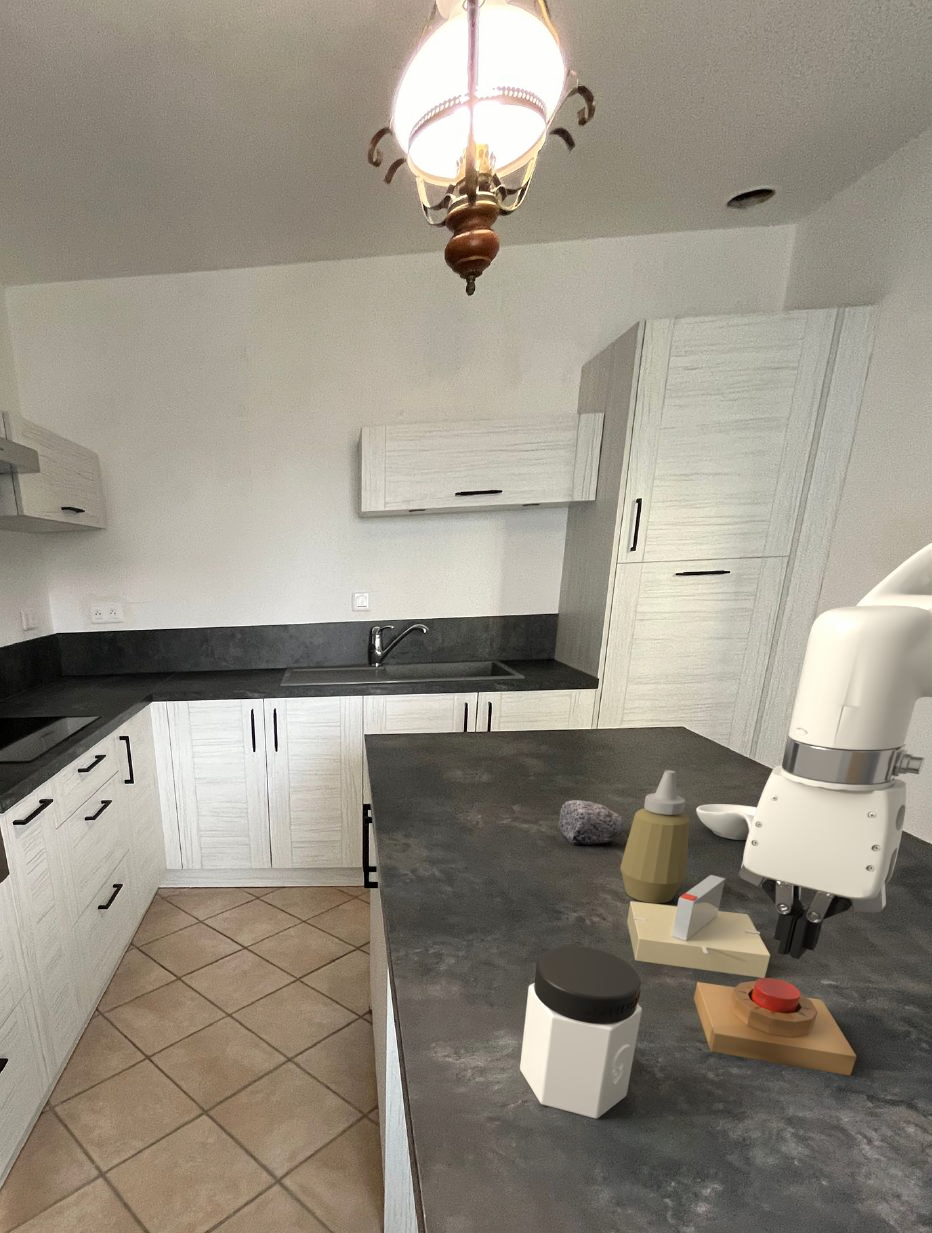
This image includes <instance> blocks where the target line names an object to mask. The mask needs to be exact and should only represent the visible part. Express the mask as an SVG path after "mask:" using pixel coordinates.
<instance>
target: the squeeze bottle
mask: <svg viewBox="0 0 932 1233" xmlns="http://www.w3.org/2000/svg"><path fill="white" fill-rule="evenodd" d="M676 779H677V778H676V771H675V770H670V769H669V770H668V769H666V770H664V772H663V775H662V777H661V779H660V782H659V784H658V787H657V788H656V790H655V792H653V793H649V794H646V796H645V799H644V803H643V807H644V808H641V809H639V810H637V811H636V812H635V814H634V817H633V820H632V824H631V826H630V827H631V828H630V830H629V834H628V838H627V842H626V844H625V849H624V852H623V856H622V859H621V864H620V868H619V869H620V872H621V877H622V880H623V885H624V886H623V887H624V890H625V891H624V892H626V894H627V895H628V896H629V897H630V898H632V899H635V900H638V901H639V902H643V903H651V904H666V903H668V902H671V901H672V900H673V898H674V897H675V895H676V893H677V892H678V890H679V889H680V887H681V886H682V884H683V883H684V881H685V879H686V878H687V872H688V870H687V869H688V868H687V867H688V856H689V855H688V853H689V840H690V824H691V819H690V817H688V815H687V814H685V813H684V810H685V806H686V799H685V798H684V797H682V796H680V795H678V790H677V780H676Z"/></svg>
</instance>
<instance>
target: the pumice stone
mask: <svg viewBox="0 0 932 1233" xmlns="http://www.w3.org/2000/svg"><path fill="white" fill-rule="evenodd" d="M624 824H625V822H624V820H623V818H622V816H621V815H620V814H618V813H617V812H614V811H613V810H611V809H610V808H608V807H607V806H605V805H603V804H599V803H595V802H593V801H591V800H590V801H589V800H588V801H585V800H577V799H576V800H574V799H573V800H568V801H565V803H564V804H563V805H561V809H560V815H559V820H558V826H557V829H558V830H559V832H560V833H561V835H562V837H563V838H564V839H565V840H567V841H568V843H569V844H570V845H574V846H591V845H600V844H606V843H608V844H609V843H611V842H614V841H615V840H616V839H617V838H618V837H620V836H621V834H622V832H623V829H624Z"/></svg>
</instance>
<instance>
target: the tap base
mask: <svg viewBox="0 0 932 1233" xmlns="http://www.w3.org/2000/svg"><path fill="white" fill-rule="evenodd" d="M677 906H678V905H668V904H661V903H648V902H643V901H632V900H631V901H629V908H628V912H627V918H626V923H627V928H628V932H629V937H630V942H631V947H632V951H633V956H634V960H635V961H637V962H644V963H651V964H652V963H653V964H659V965H666V966H673V967H679V968H680V967H681V968H688V969H693V970H694V969H695V970H702V971H710V972H715V973H724V974H731V975H738V976H746V977H754V978H758V979H761V978H766V974H767V970H768V968H769V963H770V958H771V953H770V952H769V950H768V949H767V947H766V944H765V943H764V941H763V940H762V937H761V936H760V935H761V932H760V931H758V930H757V929H756V927H755V925H754V923H753V921H752V919H751V917H750V916H749V914H747V913H741V912H740V913H739V912H730V911H722V910H718V914H717V916H716V917H715V918H713V919H712V920H711V921H710V922H709V923H707V924H706V925H705V926H704V927H702V928H701V929H700V930H699V931H698V932H696V933H695V934H694V935H693V936H691V937H690V938H689V939H688V940H687V941H685V940H682V939H679V938H676V937H673V936H672V932H673V927H674V921H675V916H676V911H677Z"/></svg>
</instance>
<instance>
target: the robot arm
mask: <svg viewBox="0 0 932 1233" xmlns="http://www.w3.org/2000/svg"><path fill="white" fill-rule="evenodd" d="M921 698H932V542H931V543H929V544H927V545H925V546H924V547H922V548H921V549H919V551H917V552H915V553H914V554H913V555H911V556H910V557H909V558H907V559H906V560H905V561H903V562H902V563H901V564H900V565H899V566H898V567H896V568H895V569H894V570H893V571H892V572H891V573H889V574H888V575H887V576H885V578H883V579H882V580H881V581H880V582H879V583H878V584H877V585H875V586H874V587H873V588H872V589H871V590H870V591H869V592H868V593H866V594H865V596H864V597H862V598H861V599H860V600H859V602H857V604H856V605H852V606H841V607H835V608H832V609H828V610H826V611H823V612H822V613H821V614H820V615H819V616H817V618H815V620H814V622H813V623H812V625H811V628H810V632H809V636H808V639H807V643H806V649H805V654H804V658H803V663H802V669H801V673H800V678H799V683H798V687H797V692H796V697H795V701H794V706H793V710H792V716H791V720H790V725H789V730H788V733H787V734H788V736H787V740H786V745H785V749H784V754H783V758H782V763H781V764H780V765H777V766H775V767H774V768H773V769H772V771H771V772H770V774H769V777H768V778H767V780H766V783H765V785H764V787H763V790H762V792H761V795H760V798H759V801H758V803H757V806H756V807H757V809H756V812H755V815H754V818H753V821H752V824H751V827H750V830H749V834H748V837H747V840H745V846H744V850H743V855H742V856H743V857H742V858H743V859H742V862H743V866H742V865H741V866H742V868H741V867H740V869H739V872H738V877H739V878H740V879H741V880H743V881H745V882H747V883H749V884H751V885H753V886H755V887H757V888H762V890H763V891H764V893H766V895H767V896H768V897H769V899H770V901H772V902H773V903H774V905H775V906H774V908H775V911H776V912H777V913H778V918H777V922H776V926H775V930H774V935H773V939H774V940H776V941H779V945H778V949H777V953H778V954H779V955H783V956H785V955H789V956H790V957H791V958H793V959H795V960H799V959H800V958H801V957H802V956H803V955H804V953H805V952H806V951H807V950H808V951H814V950H815V949H816V947H817V945H818V942H819V939H820V935H821V931H822V928H823V927H822V926H823V922H824V920H826V919H829V918H832V917H833V916H834V917H835V916H836V915H839V914H842V913H844V912H846V911H850V912H857V913H867V914H879V913H881V912H882V911H883V910H884V909H885V907H886V906H887V898H886V896H887V894H886V886H887V885H888V884H889V883H890V881H891V878H892V876H893V873H894V870H895V867H896V862H897V858H898V853H899V850H900V844H901V839H902V834H903V828H904V823H905V815H906V807H907V783H906V782H905V781H904V780H902V779H900V778H897V777H899V776H900V775H901V774H902V775H907V774H913V775H914V774H915V775H920V774H921V772H922V770H923V767H924V764H925V757H923V756H915V755H914V754H913V753H908V752H909V751H908V750H906V743H905V742H906V738H907V734H908V730H909V727H910V724H911V719H912V716H913V712H914V710H915V709H914V708H915V705H916V702H917V701H918V700H919V699H921ZM802 888H804V889H808V890H811V891H816V892H815V895H814V897H813V899H812V901H811V903H810V905H809V906H808V907H807V908H806V909H805V908H804V907H805V905H803V903H802V902H801V900H802Z"/></svg>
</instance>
